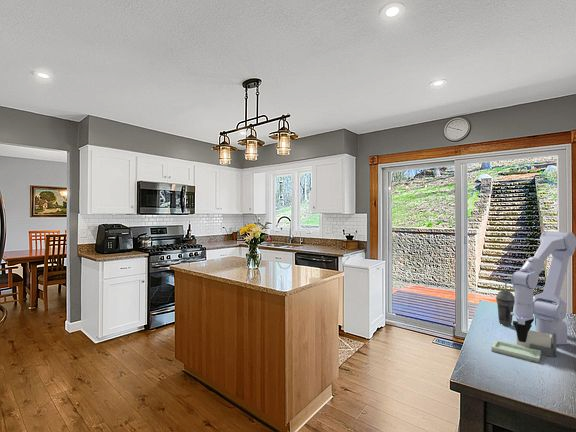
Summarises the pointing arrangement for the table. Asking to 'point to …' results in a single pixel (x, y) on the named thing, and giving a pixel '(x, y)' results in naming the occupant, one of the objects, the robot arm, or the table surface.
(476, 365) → the table surface
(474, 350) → the table surface
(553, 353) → the bay
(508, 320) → the beverage cup
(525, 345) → the box
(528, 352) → the tray
